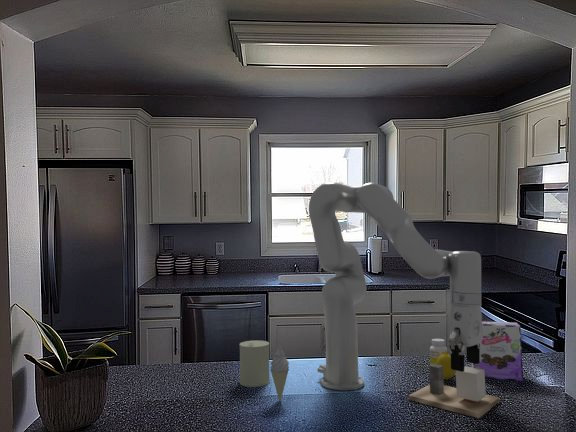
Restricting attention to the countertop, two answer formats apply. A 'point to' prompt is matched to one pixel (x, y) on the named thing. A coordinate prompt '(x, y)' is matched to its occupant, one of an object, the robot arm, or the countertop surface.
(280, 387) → the ice cream cone
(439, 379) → the stand
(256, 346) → the can
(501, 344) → the candy box
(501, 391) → the countertop surface
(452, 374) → the lemon
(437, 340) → the supplement bottle
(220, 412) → the countertop surface
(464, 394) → the white rectangular block
